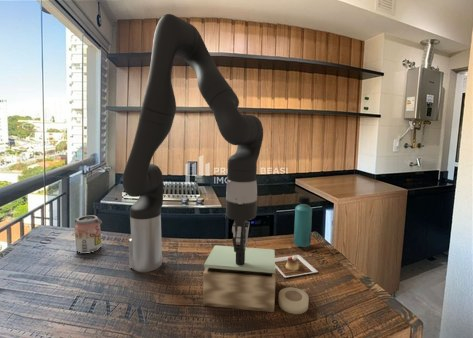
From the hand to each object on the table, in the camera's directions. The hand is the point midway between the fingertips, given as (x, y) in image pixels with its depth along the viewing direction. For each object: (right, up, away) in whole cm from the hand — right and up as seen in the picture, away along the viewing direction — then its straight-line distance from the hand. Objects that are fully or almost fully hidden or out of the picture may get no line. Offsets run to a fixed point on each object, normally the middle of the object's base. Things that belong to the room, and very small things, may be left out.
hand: (240, 263), depth 69 cm
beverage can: (-55, -6, +31) cm, 63 cm away
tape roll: (+14, -11, +2) cm, 18 cm away
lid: (0, -1, +5) cm, 5 cm away
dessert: (+18, -9, +21) cm, 29 cm away
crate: (0, -10, +6) cm, 12 cm away
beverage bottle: (+24, -6, +35) cm, 43 cm away
